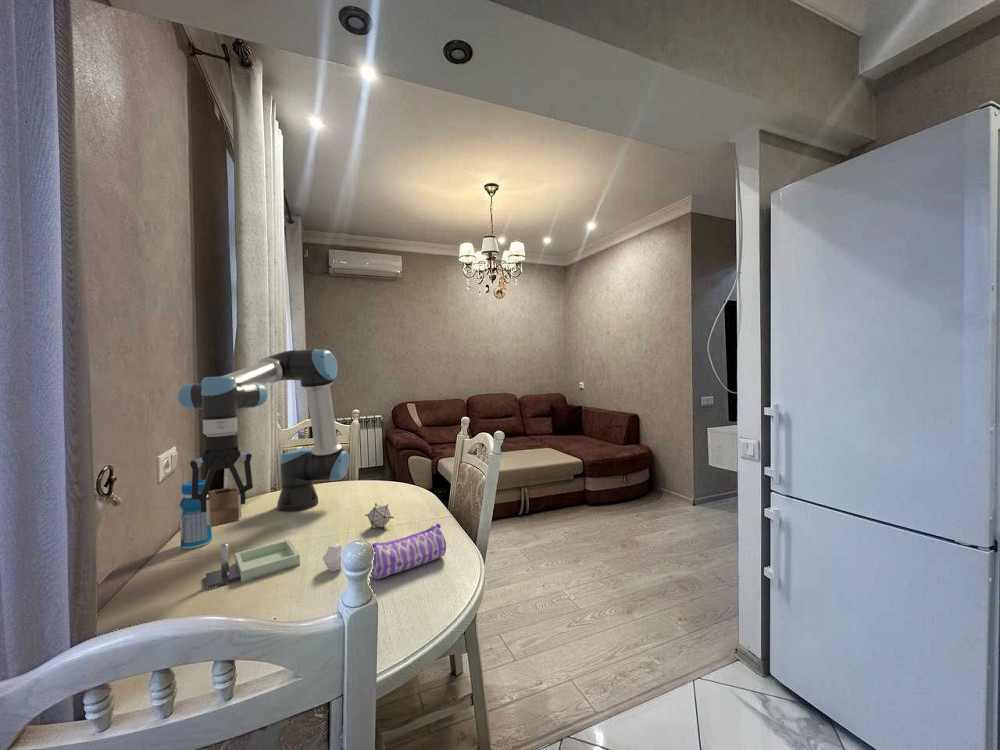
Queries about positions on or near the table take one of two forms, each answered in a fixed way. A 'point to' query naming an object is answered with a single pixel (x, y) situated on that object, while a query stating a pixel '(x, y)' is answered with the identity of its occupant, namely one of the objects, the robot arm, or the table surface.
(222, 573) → the pin
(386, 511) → the game die
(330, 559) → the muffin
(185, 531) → the beverage bottle
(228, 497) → the bore block
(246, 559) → the tray
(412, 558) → the pencil case
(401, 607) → the table surface
